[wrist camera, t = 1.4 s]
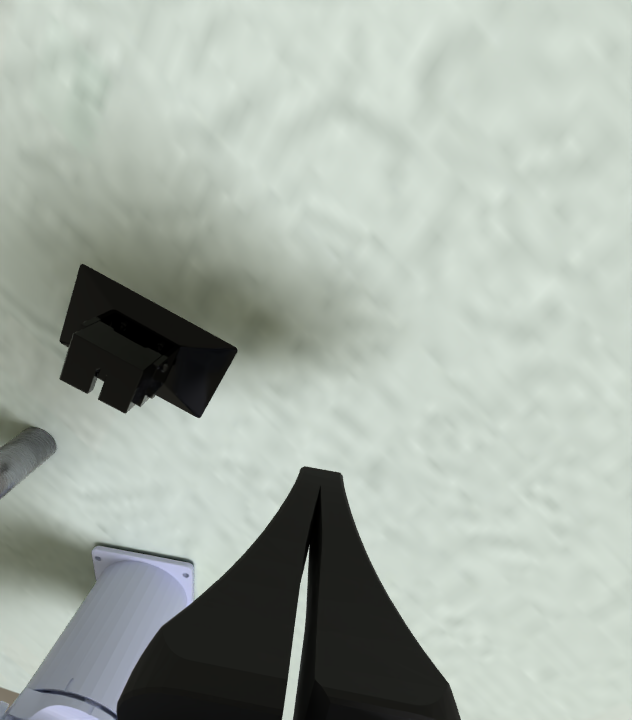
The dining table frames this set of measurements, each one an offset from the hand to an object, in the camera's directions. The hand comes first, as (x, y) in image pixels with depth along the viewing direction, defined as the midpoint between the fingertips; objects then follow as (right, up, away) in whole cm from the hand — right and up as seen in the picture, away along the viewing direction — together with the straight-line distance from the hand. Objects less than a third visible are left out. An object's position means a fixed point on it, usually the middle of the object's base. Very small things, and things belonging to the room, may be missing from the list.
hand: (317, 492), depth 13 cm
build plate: (-10, +6, +10) cm, 15 cm away
